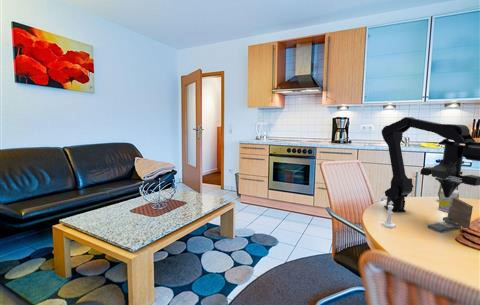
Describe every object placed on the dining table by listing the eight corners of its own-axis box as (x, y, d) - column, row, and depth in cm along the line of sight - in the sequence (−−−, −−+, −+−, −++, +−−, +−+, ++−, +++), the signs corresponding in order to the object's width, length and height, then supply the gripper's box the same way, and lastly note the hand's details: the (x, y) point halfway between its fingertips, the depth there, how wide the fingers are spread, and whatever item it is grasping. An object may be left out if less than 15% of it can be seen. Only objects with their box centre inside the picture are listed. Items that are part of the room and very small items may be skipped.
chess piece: (378, 222, 101) (381, 199, 99) (389, 222, 101) (392, 199, 100) (386, 228, 96) (389, 203, 95) (398, 228, 96) (401, 203, 95)
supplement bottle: (449, 208, 120) (453, 182, 118) (460, 213, 114) (464, 186, 112) (434, 207, 121) (438, 181, 119) (444, 212, 114) (448, 185, 112)
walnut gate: (463, 228, 94) (467, 205, 92) (446, 216, 105) (449, 195, 104) (470, 229, 93) (474, 205, 92) (452, 217, 105) (455, 196, 103)
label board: (419, 224, 100) (420, 221, 100) (447, 219, 107) (448, 216, 106) (440, 232, 93) (440, 229, 93) (469, 226, 100) (469, 223, 99)
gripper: (413, 154, 101) (408, 192, 103) (469, 163, 84) (462, 207, 86) (431, 153, 105) (426, 190, 107) (488, 161, 88) (481, 204, 90)
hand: (446, 197), depth 97 cm, fingers closed
